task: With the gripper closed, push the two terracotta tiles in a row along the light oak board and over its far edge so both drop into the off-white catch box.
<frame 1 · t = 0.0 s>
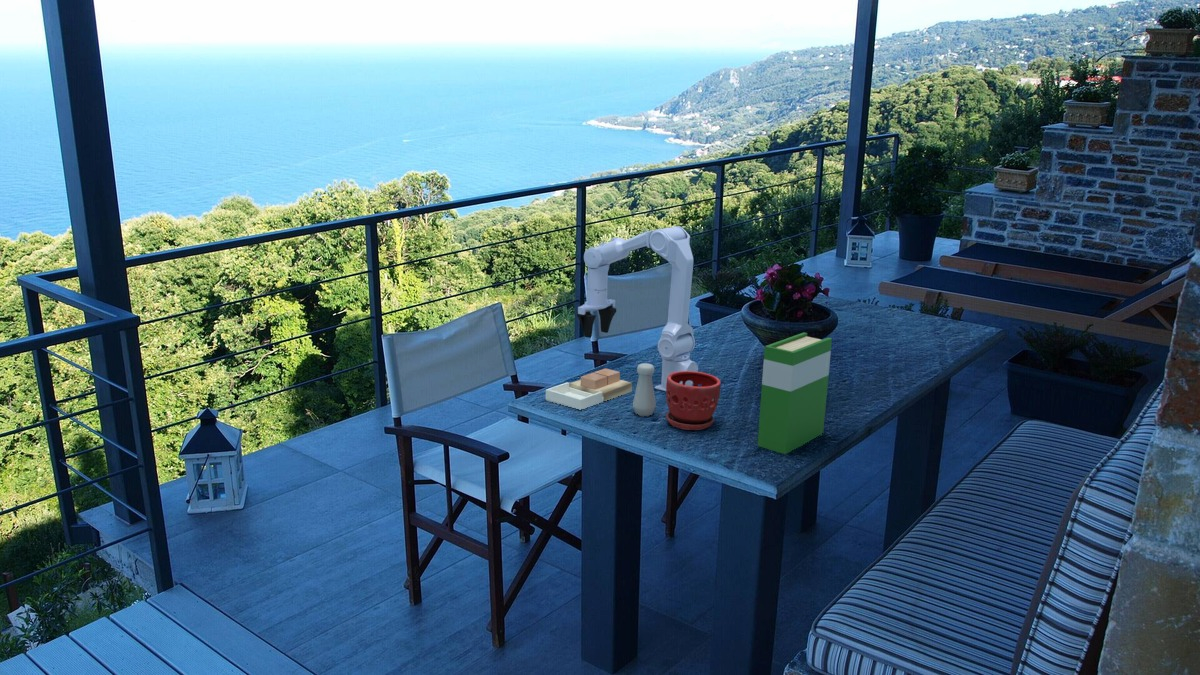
hand: (596, 334, 271), 10 cm above the table, tool pointing down, fingers open, 7 cm apart
tile rear: (606, 381, 254), point 2 cm above the table, touching board
hardback book: (790, 440, 222), on the table
salt shaker: (643, 414, 237), on the table
catch box: (574, 401, 245), on the table
plant pot: (691, 425, 231), on the table
board: (600, 391, 253), on the table
tile front: (593, 385, 250), point 2 cm above the table, touching board
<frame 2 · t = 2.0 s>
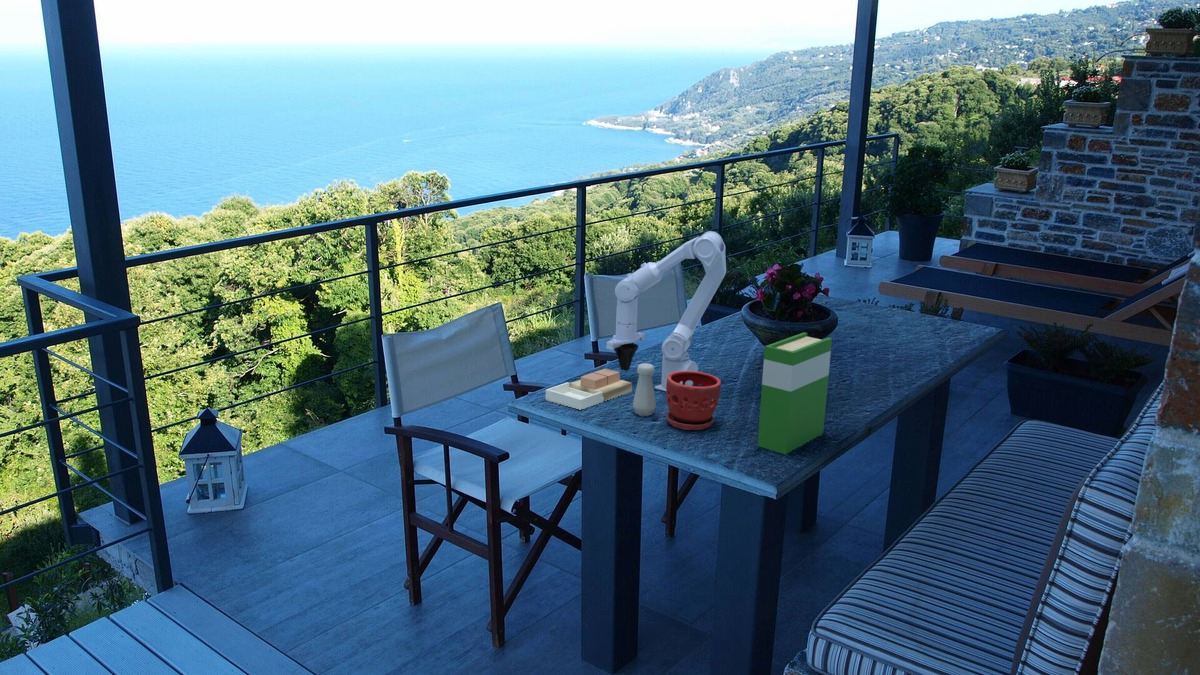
hand: (624, 369, 260), 4 cm above the table, tool pointing down, fingers closed
nothing on the table moved.
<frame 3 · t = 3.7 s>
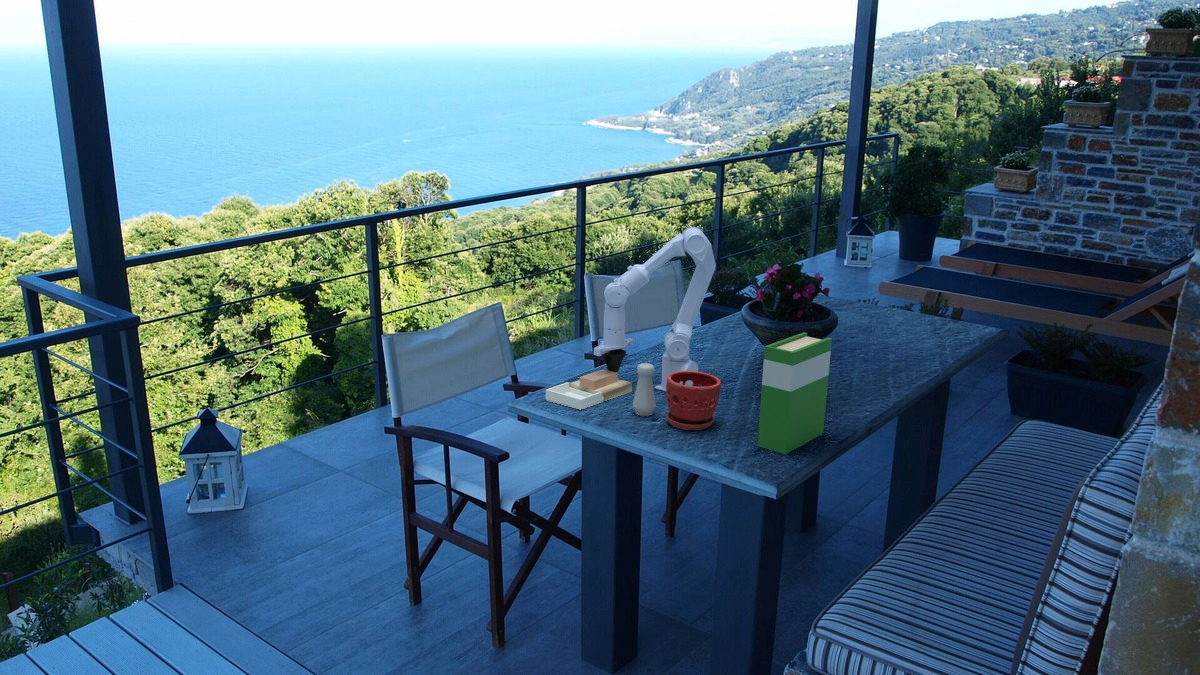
hand: (612, 375, 256), 3 cm above the table, tool pointing down, fingers closed
tile rear: (604, 381, 253), point 3 cm above the table, touching board, gripper, tile front
tile front: (592, 385, 250), point 3 cm above the table, touching tile rear
everything else where it was.
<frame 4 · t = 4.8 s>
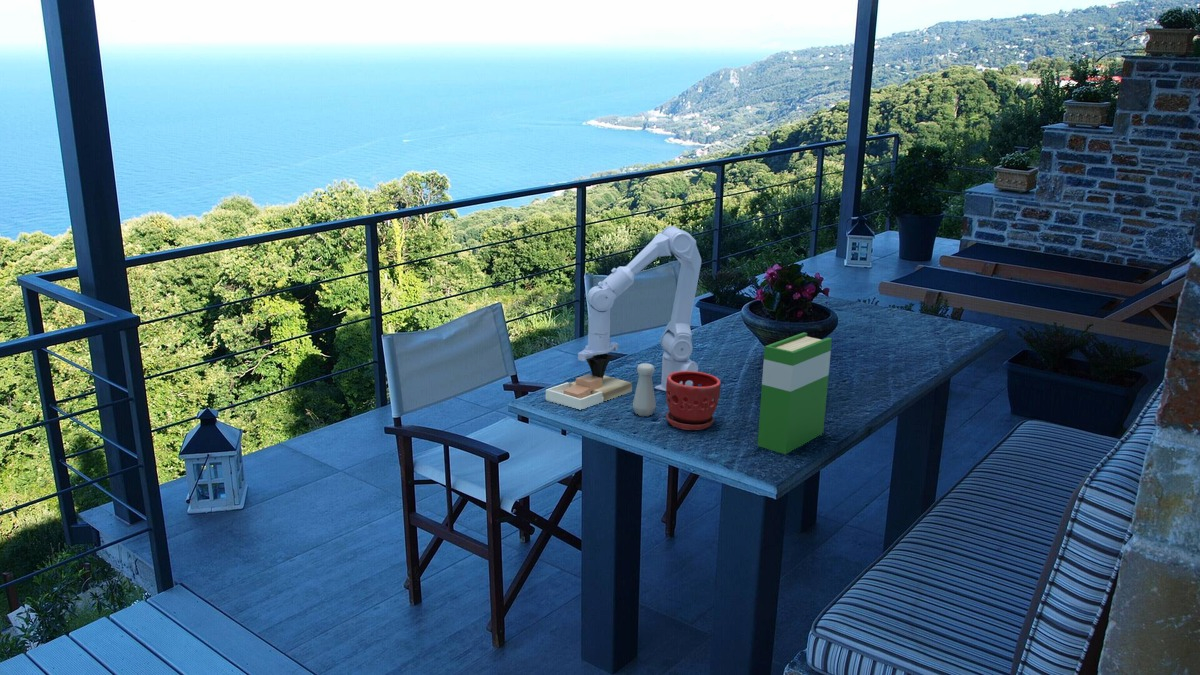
hand: (597, 381, 251), 3 cm above the table, tool pointing down, fingers closed
tile rear: (588, 387, 249), point 3 cm above the table, touching gripper, tile front
tile front: (577, 398, 245), point 1 cm above the table, tilted 6°, touching tile rear
everything else where it was.
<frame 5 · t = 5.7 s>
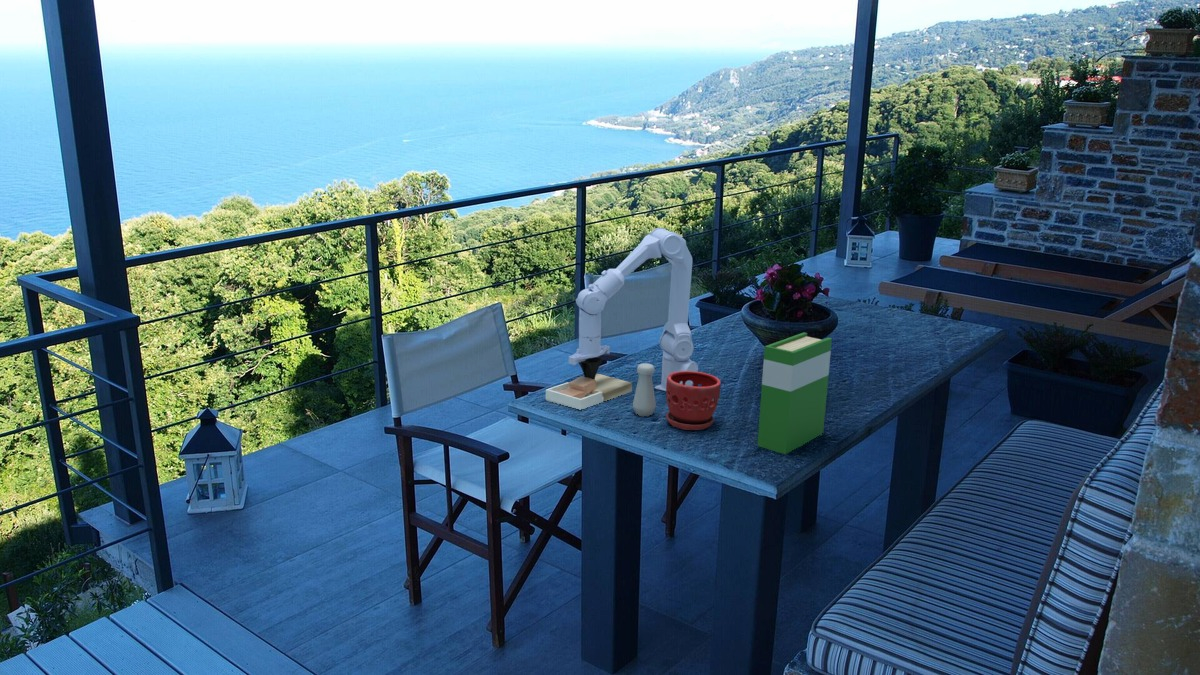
hand: (589, 384, 248), 3 cm above the table, tool pointing down, fingers closed, pressing on tile rear
tile rear: (583, 389, 247), point 2 cm above the table, tilted 9°, touching board, gripper, tile front
tile front: (571, 401, 243), point 1 cm above the table, touching catch box, tile rear
everything else where it was.
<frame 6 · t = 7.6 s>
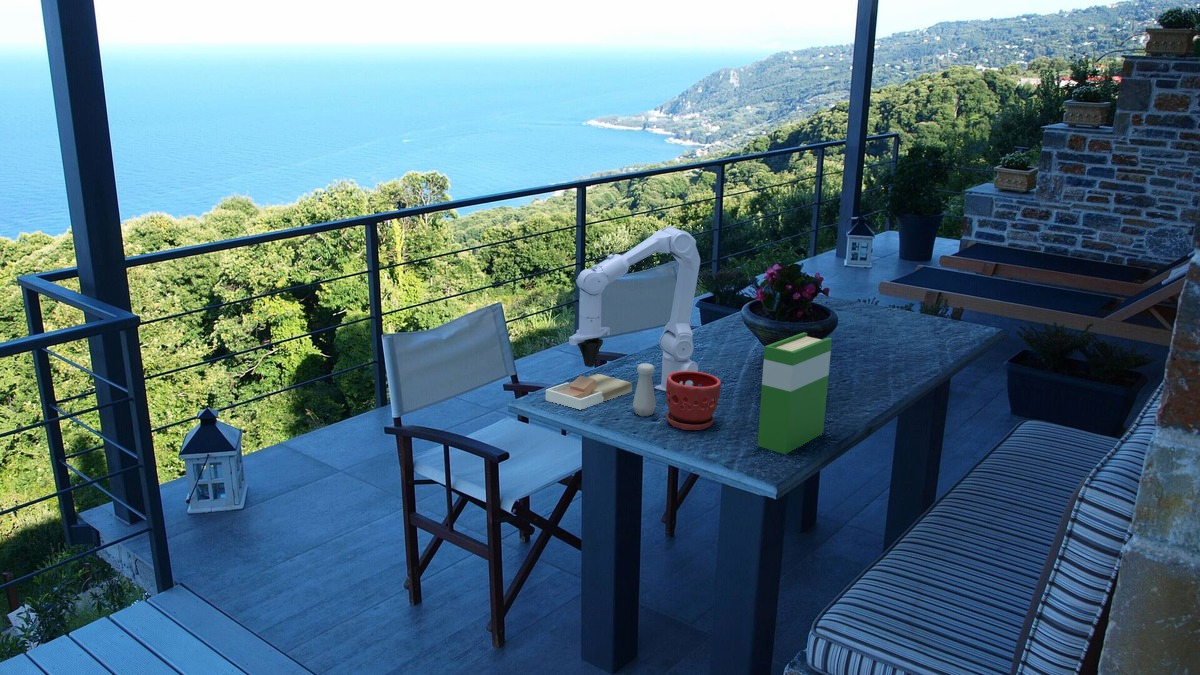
hand: (589, 366, 247), 8 cm above the table, tool pointing down, fingers closed
tile rear: (583, 390, 247), point 2 cm above the table, tilted 18°, touching board, tile front
everything else where it was.
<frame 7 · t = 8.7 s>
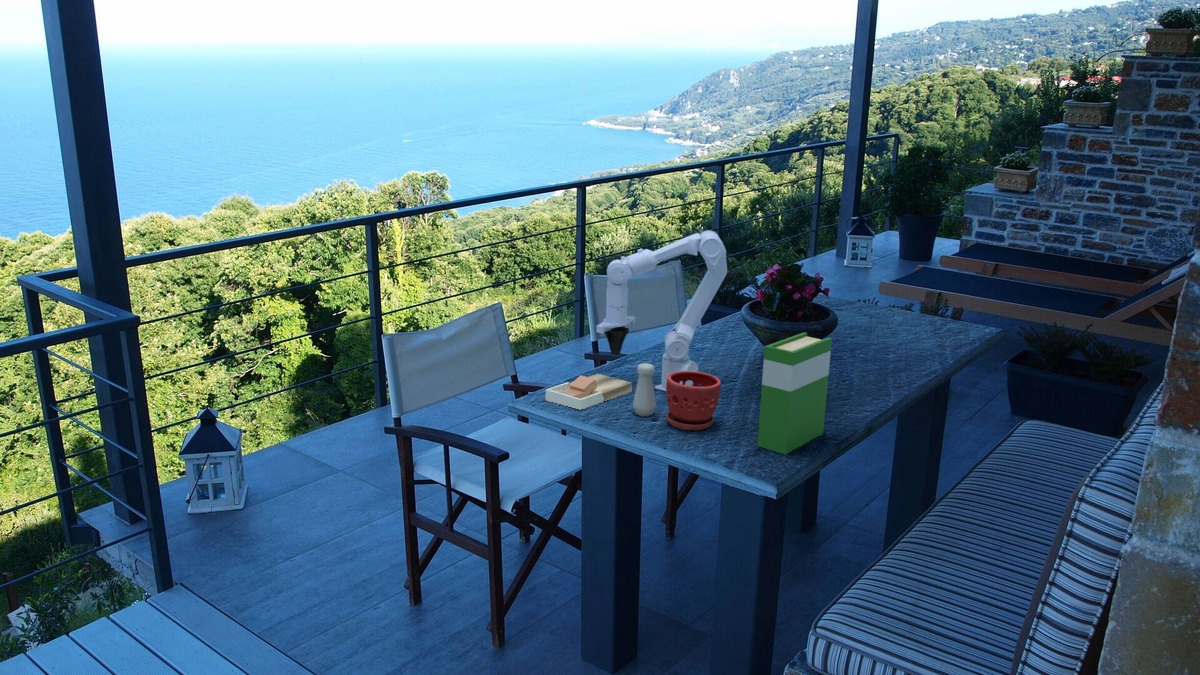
hand: (615, 353, 255), 9 cm above the table, tool pointing down, fingers closed
nothing on the table moved.
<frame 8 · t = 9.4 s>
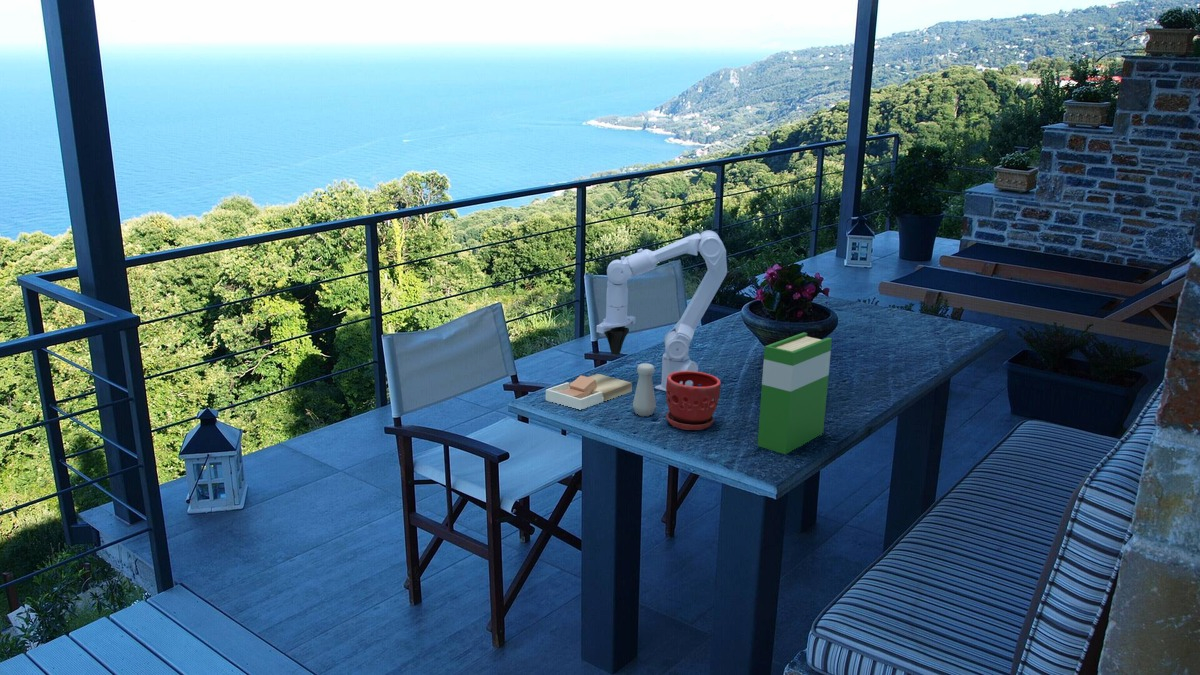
hand: (615, 353, 255), 9 cm above the table, tool pointing down, fingers closed
nothing on the table moved.
at the end: tile front inside the target area (1.6 cm from its centre), resting on catch box; tile rear inside the target area (3.9 cm from its centre), point 2.2 cm above the table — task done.
